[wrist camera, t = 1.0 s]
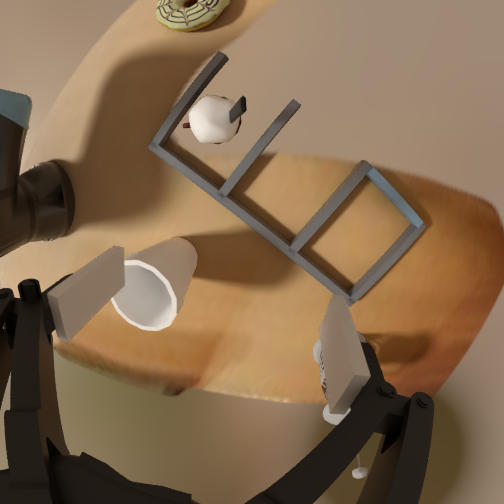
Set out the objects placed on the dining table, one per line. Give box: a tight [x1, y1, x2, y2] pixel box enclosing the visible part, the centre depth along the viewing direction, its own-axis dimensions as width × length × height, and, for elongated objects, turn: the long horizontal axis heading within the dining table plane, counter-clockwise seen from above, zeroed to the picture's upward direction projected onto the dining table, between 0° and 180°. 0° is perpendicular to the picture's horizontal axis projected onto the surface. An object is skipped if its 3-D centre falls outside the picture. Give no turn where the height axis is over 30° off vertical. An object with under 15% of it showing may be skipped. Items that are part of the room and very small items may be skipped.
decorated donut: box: [156, 0, 230, 32], centre depth 26 cm, size 10×11×4 cm
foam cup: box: [111, 237, 198, 331], centre depth 35 cm, size 10×9×13 cm
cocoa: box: [183, 95, 246, 144], centre depth 28 cm, size 10×6×12 cm, turn 72°
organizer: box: [148, 51, 426, 307], centre depth 34 cm, size 37×17×2 cm, turn 52°
